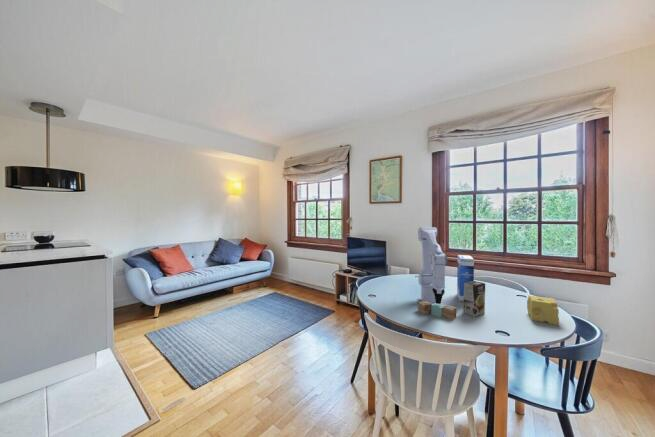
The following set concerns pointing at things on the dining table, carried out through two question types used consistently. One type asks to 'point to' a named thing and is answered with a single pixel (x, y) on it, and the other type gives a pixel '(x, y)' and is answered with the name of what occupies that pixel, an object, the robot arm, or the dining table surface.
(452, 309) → the digit block seven
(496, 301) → the dining table surface
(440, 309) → the plain block
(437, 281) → the robot arm
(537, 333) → the dining table surface
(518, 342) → the dining table surface
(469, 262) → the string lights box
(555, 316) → the cheese
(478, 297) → the coffee box
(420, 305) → the digit block one
